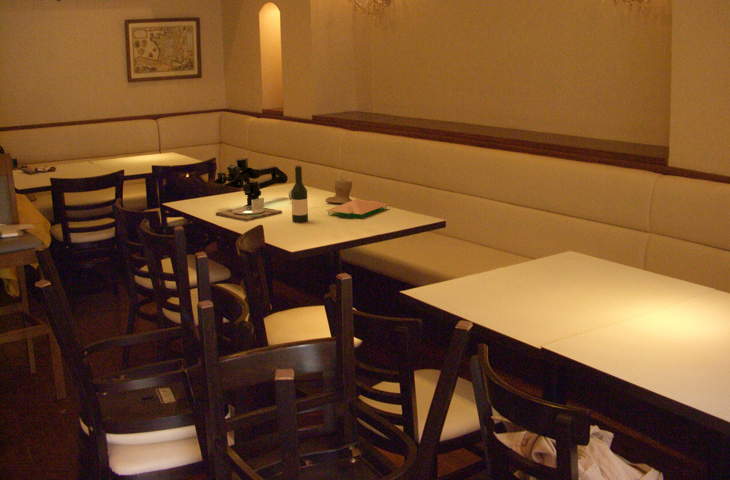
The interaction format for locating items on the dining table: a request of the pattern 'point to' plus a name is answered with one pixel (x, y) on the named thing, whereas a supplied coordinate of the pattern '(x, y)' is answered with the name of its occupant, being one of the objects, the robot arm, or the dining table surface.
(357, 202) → the house
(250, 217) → the board
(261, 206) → the dial
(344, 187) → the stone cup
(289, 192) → the donut
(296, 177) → the wine bottle
